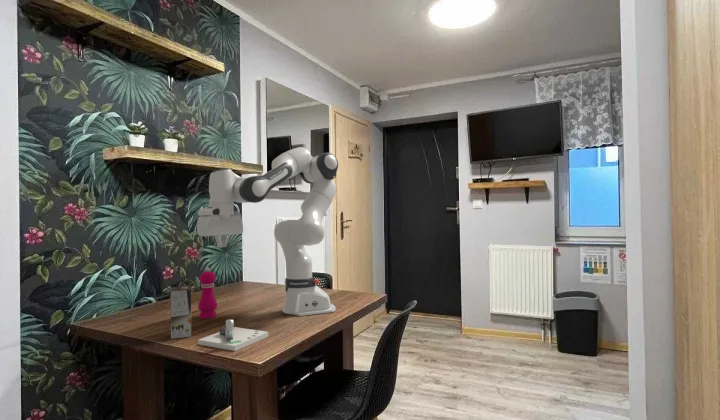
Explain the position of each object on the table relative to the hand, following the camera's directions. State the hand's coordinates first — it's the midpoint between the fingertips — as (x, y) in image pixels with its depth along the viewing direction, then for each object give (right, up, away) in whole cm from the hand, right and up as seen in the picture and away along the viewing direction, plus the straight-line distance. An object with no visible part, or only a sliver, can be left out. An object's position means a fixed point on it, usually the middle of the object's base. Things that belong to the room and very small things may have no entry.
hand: (221, 247), depth 147 cm
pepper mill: (-9, -30, +10) cm, 32 cm away
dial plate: (+12, -28, -21) cm, 37 cm away
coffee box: (-9, -29, -14) cm, 33 cm away
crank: (+10, -26, -23) cm, 36 cm away
